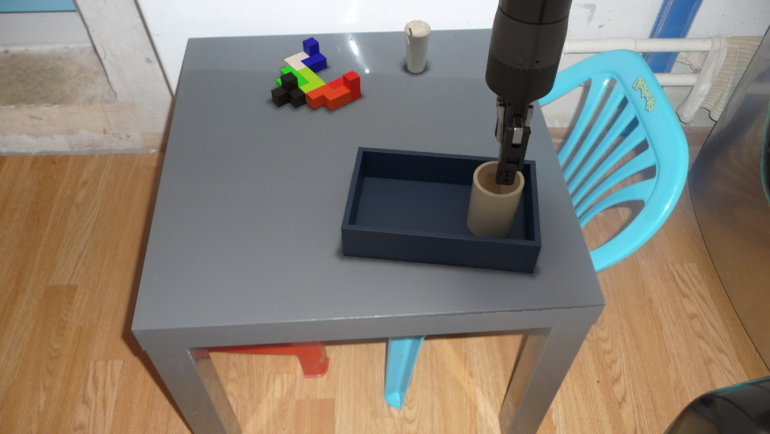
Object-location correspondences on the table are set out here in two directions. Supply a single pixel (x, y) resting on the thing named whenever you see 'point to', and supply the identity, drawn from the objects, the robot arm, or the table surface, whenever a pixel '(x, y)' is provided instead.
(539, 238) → the navy tray
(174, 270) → the table surface
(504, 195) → the cup
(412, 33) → the milkshake
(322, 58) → the building blocks
